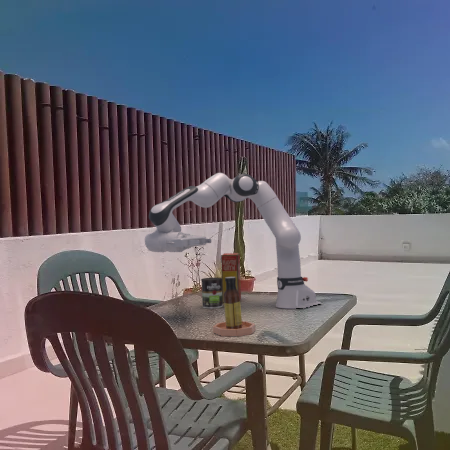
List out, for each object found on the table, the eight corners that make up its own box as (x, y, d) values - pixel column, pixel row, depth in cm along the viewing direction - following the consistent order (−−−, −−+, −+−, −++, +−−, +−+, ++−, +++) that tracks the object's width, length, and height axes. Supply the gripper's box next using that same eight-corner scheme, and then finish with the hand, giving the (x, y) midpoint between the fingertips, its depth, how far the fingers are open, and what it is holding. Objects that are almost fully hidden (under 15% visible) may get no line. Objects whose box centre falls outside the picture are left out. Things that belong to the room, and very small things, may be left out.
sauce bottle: (241, 326, 187) (239, 275, 187) (242, 330, 181) (240, 277, 181) (224, 327, 187) (222, 276, 187) (225, 331, 181) (223, 278, 181)
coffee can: (225, 307, 237) (224, 278, 237) (204, 309, 234) (203, 280, 234) (220, 304, 247) (218, 276, 247) (200, 306, 244) (199, 278, 244)
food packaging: (239, 303, 249) (237, 254, 249) (221, 303, 250) (219, 255, 250) (241, 298, 262) (240, 252, 262) (224, 299, 263) (222, 253, 263)
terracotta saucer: (241, 325, 194) (241, 319, 194) (261, 332, 181) (261, 325, 181) (208, 330, 187) (207, 324, 187) (226, 338, 174) (226, 331, 174)
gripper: (163, 235, 202) (192, 235, 195) (189, 233, 220) (216, 233, 214) (164, 250, 202) (193, 250, 196) (189, 247, 220) (216, 247, 214)
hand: (205, 241), depth 205 cm, fingers open, 8 cm apart
